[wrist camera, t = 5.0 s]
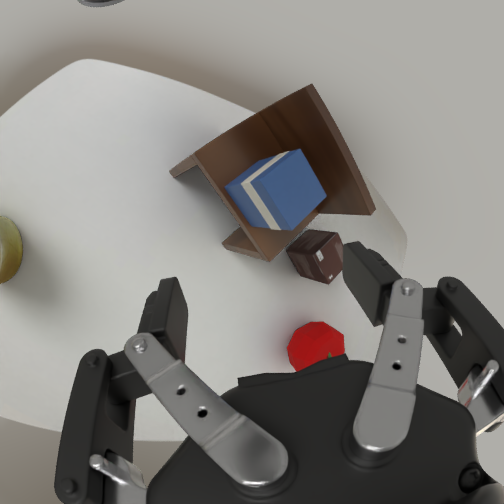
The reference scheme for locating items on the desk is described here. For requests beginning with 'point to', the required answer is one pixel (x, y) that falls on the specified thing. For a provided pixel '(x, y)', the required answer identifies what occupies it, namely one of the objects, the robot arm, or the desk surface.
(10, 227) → the mug
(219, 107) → the desk surface
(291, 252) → the box
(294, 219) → the carton
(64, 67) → the desk surface
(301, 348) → the apple
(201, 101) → the desk surface
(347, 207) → the chair
